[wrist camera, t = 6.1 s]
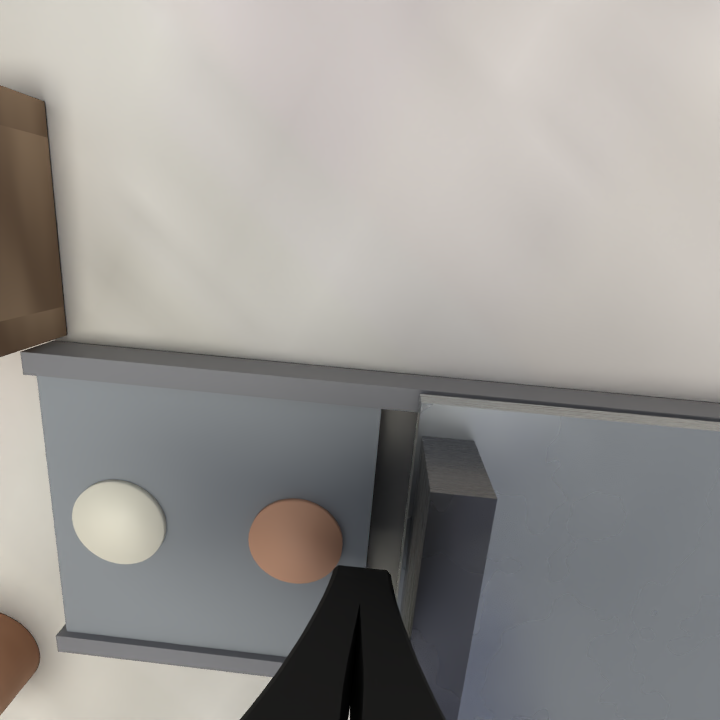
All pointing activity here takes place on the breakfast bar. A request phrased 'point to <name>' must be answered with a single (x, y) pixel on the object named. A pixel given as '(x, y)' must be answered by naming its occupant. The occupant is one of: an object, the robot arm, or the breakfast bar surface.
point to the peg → (15, 659)
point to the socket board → (27, 228)
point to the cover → (563, 562)
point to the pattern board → (225, 491)
